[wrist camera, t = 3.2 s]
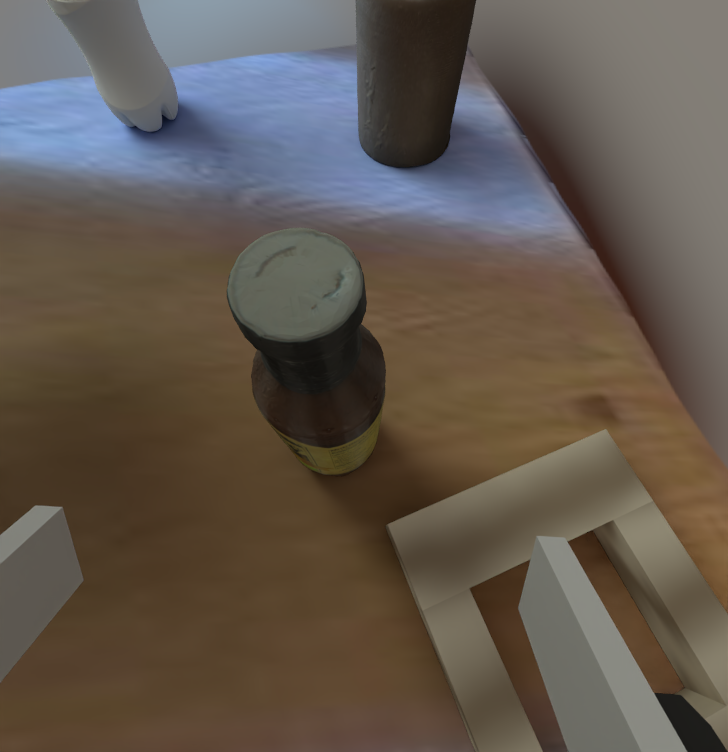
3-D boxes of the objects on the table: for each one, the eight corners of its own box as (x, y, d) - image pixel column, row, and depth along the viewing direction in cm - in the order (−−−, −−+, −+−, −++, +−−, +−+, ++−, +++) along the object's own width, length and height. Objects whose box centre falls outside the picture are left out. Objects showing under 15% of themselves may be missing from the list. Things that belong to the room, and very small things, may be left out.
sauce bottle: (286, 408, 31) (175, 204, 13) (366, 390, 31) (370, 170, 13) (302, 492, 28) (191, 391, 10) (387, 471, 29) (429, 339, 11)
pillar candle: (467, 136, 43) (516, -61, 29) (404, 183, 40) (425, -10, 26) (400, 95, 46) (415, -102, 32) (337, 137, 43) (324, -60, 29)
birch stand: (385, 526, 28) (387, 524, 25) (583, 440, 30) (606, 429, 27) (542, 919, 20) (570, 977, 18) (787, 764, 23) (845, 794, 20)
